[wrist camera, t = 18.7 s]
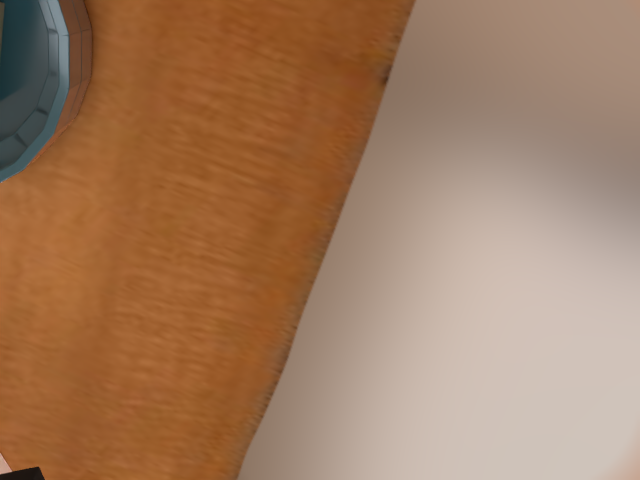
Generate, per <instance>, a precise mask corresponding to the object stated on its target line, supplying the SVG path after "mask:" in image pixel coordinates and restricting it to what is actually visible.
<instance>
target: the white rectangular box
mask: <svg viewBox="0 0 640 480" xmlns="http://www.w3.org/2000/svg"><path fill="white" fill-rule="evenodd" d="M9 472H12V470H11V469H10V467H9V466H8V464H7V463H6V461H5V459H4V458H3V456H2V455H1V453H0V474H4V473H9Z"/></svg>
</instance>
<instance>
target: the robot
mask: <svg viewBox="0 0 640 480" xmlns="http://www.w3.org/2000/svg"><path fill="white" fill-rule="evenodd" d="M4 6H5V3H2V2H0V54H1V42H2V30H3V18H4Z"/></svg>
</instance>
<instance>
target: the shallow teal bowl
mask: <svg viewBox="0 0 640 480" xmlns="http://www.w3.org/2000/svg"><path fill="white" fill-rule="evenodd" d="M0 2H2V3H5V6H4V18H3V30H2V42H1V54H0V183H1V182H3V181H5V180H6V179H8V178H10V177H12V176H14V175H16V174H17V173H19V172H21V171H23V170H24V169H25V168H26V167H27V166H29V165H30V164H31V163H32V162H33V161H34V160H36V159H37V158H38V157H39V156H40V155H41V154H42V153H44V152H45V151H46V150H47V149H48V148H49V147H50V146H51V145H52V144H53V143H54V142H55V141H56V139H57V138H58V137H59V136H60V135H61V134H62V133H63V131H64V130H65V129H66V128H67V127H68V126H69V124H70V123H71V122H72V121H73V120H74V119H75V117H76V116H77V114H78V111H79V108H80V105H81V103H82V100H83V97H84V94H85V92H86V89H87V86H88V83H89V81H90V78H91V56H92V29H91V24H90V21H89V18H88V14H87V11H86V8H85V4H84V1H83V0H0Z"/></svg>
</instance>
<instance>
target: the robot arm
mask: <svg viewBox="0 0 640 480" xmlns="http://www.w3.org/2000/svg"><path fill="white" fill-rule="evenodd" d="M0 480H45V479H44V477H43V475H42V472H41V470H40V468H39V467H34V468H29V469H24V470H19V471H14V472H9V473H4V474H0Z"/></svg>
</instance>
